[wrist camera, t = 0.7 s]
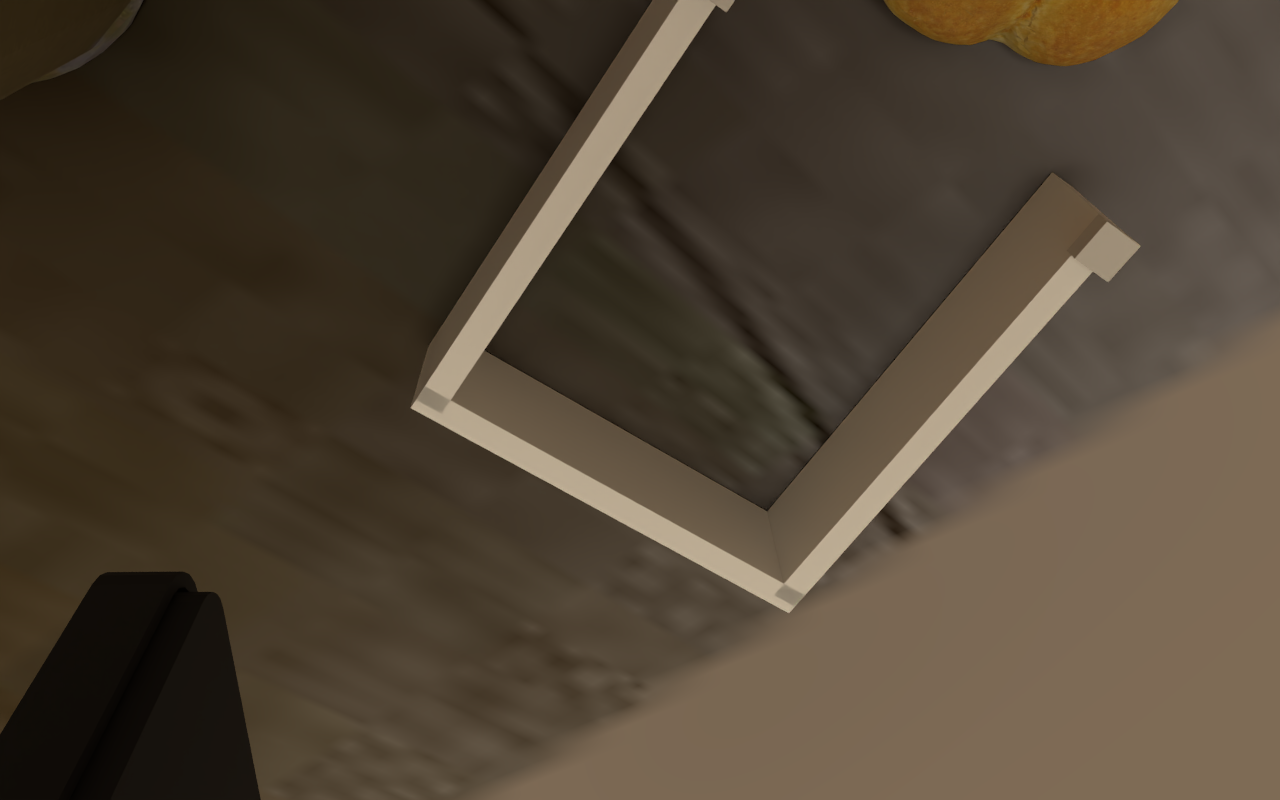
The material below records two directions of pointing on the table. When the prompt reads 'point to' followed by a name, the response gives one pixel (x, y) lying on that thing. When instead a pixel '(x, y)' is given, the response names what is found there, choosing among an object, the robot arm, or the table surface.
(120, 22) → the canister
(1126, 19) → the bread roll
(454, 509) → the table surface
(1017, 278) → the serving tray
